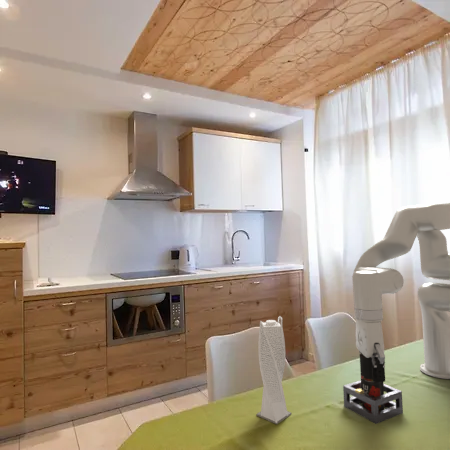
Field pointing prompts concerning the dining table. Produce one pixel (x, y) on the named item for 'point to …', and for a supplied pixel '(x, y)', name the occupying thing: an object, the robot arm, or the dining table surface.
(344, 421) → the dining table surface
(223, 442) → the dining table surface
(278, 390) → the skyscraper
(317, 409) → the dining table surface
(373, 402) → the grey open cube frame
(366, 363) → the deodorant
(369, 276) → the robot arm
